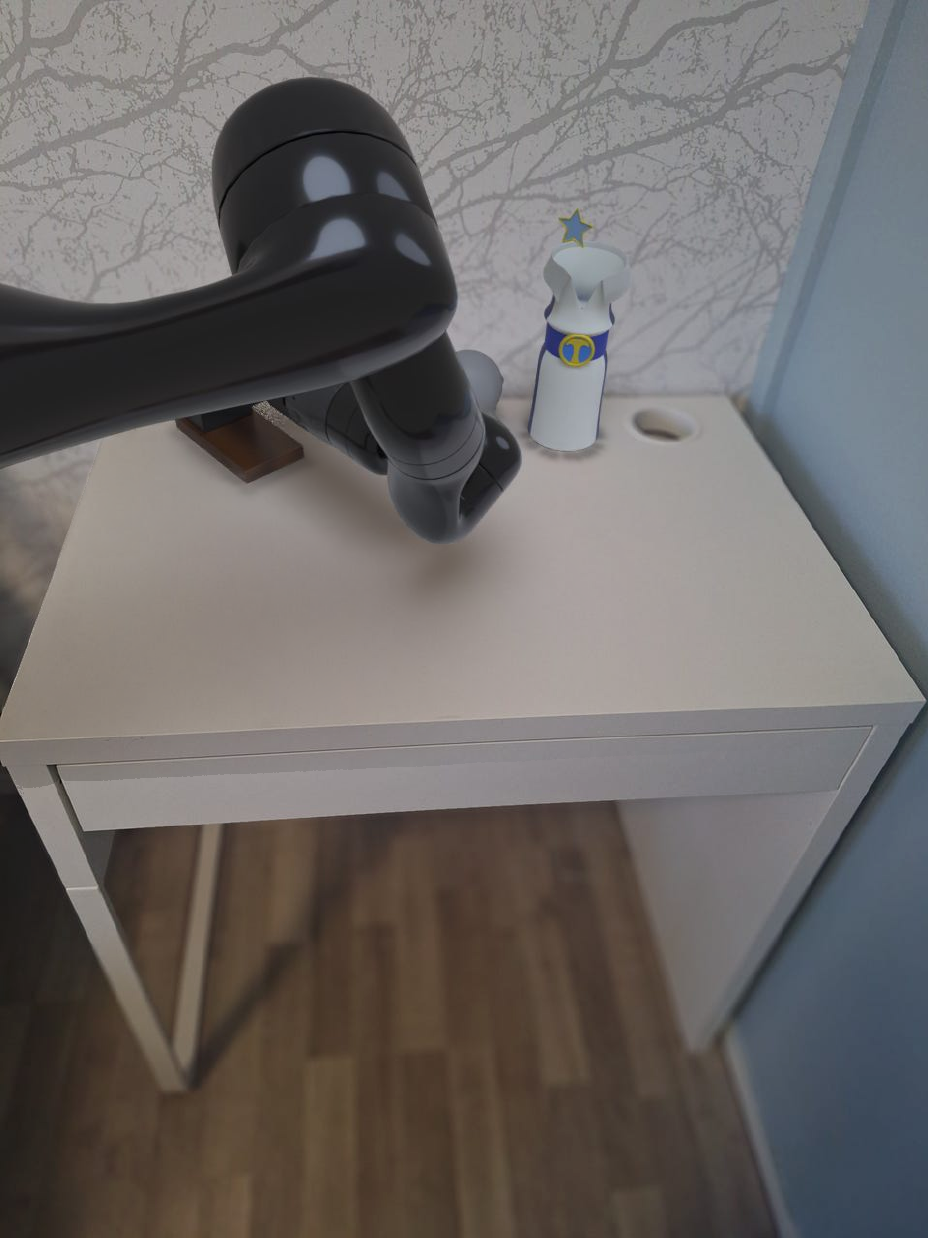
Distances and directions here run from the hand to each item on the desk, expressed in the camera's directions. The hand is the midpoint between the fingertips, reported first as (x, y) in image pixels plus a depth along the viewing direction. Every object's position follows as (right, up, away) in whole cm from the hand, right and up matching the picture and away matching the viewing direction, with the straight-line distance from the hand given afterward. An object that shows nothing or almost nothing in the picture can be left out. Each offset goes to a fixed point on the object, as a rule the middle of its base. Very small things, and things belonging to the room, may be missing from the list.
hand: (214, 317), depth 87 cm
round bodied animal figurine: (+22, -8, +13) cm, 26 cm away
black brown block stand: (0, -10, +9) cm, 13 cm away
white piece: (+35, -8, +13) cm, 38 cm away
